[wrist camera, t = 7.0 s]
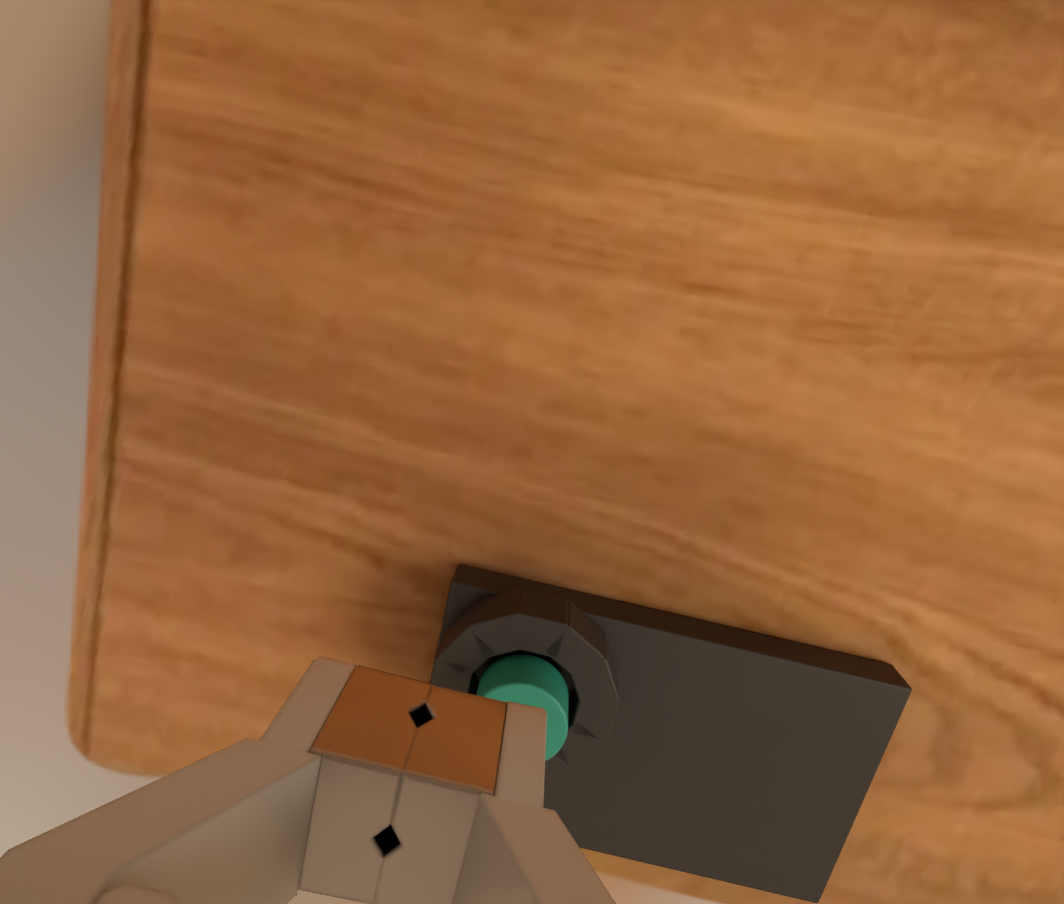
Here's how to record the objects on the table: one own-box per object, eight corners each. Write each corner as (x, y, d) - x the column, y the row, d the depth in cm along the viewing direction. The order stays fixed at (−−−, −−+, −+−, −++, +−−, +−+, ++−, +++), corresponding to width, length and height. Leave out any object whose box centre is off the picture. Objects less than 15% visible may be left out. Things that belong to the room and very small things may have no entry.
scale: (414, 778, 24) (391, 845, 21) (460, 553, 22) (442, 595, 19) (804, 869, 24) (836, 950, 21) (895, 654, 22) (946, 712, 19)
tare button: (470, 720, 20) (461, 755, 19) (488, 643, 19) (480, 674, 18) (557, 741, 20) (555, 777, 19) (577, 664, 19) (578, 696, 18)
